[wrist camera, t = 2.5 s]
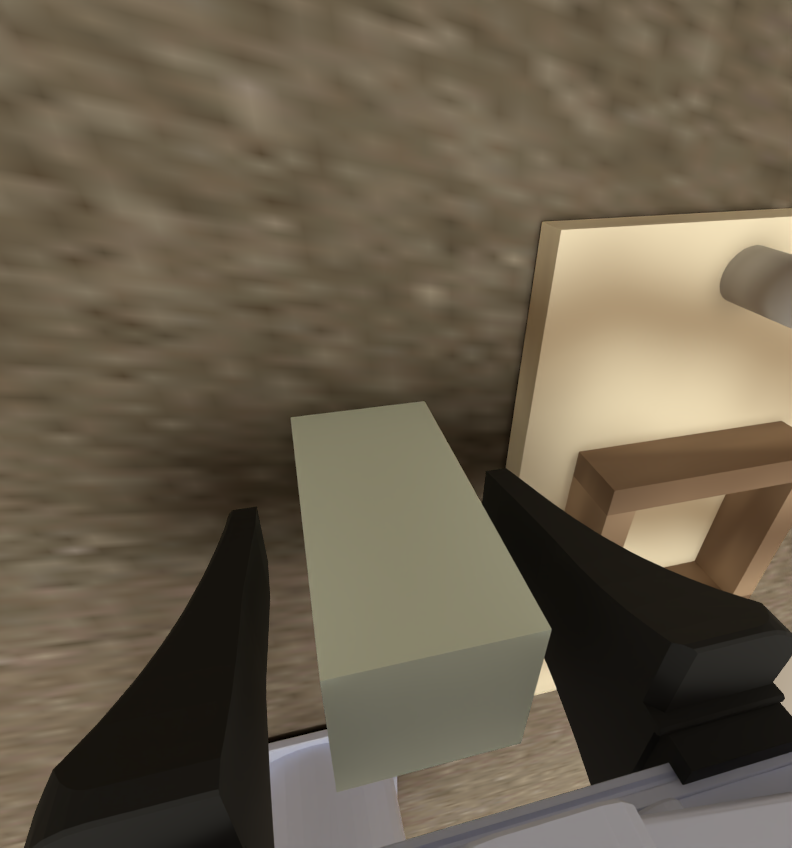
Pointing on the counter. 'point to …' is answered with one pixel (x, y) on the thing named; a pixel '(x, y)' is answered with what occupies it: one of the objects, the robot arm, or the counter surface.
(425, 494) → the sage peg
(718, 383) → the socket plate
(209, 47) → the counter surface
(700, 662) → the robot arm
